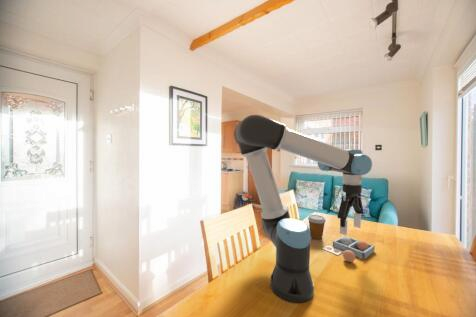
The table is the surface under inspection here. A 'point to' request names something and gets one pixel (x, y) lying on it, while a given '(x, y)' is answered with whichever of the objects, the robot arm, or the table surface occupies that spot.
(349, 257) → the terracotta ball
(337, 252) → the tile
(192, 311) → the table surface
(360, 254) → the rack
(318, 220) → the disposable coffee cup
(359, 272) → the table surface
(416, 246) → the table surface
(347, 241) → the ball grey
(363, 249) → the terracotta ball
